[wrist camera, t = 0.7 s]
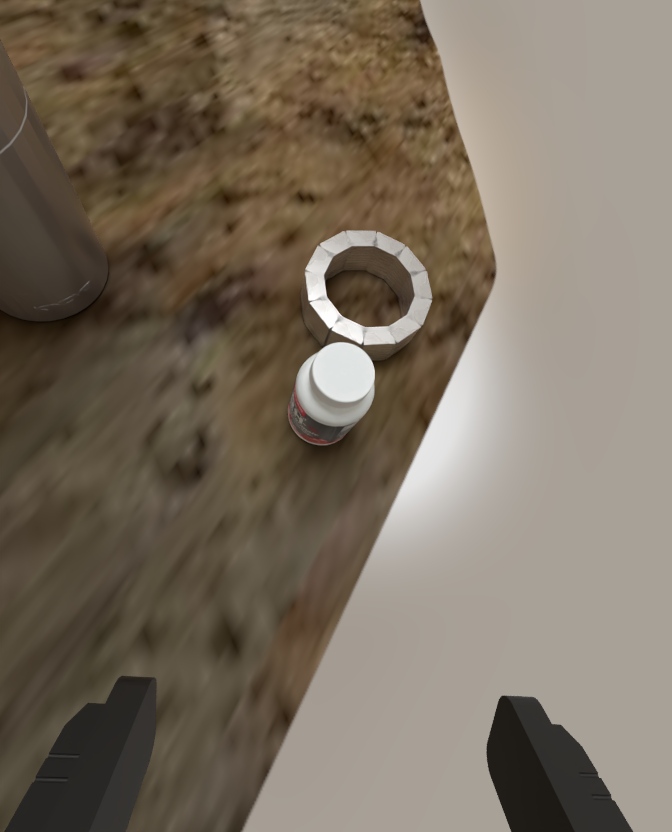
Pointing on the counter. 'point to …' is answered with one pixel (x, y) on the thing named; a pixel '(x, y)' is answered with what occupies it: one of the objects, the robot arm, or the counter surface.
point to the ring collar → (381, 261)
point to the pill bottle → (331, 393)
